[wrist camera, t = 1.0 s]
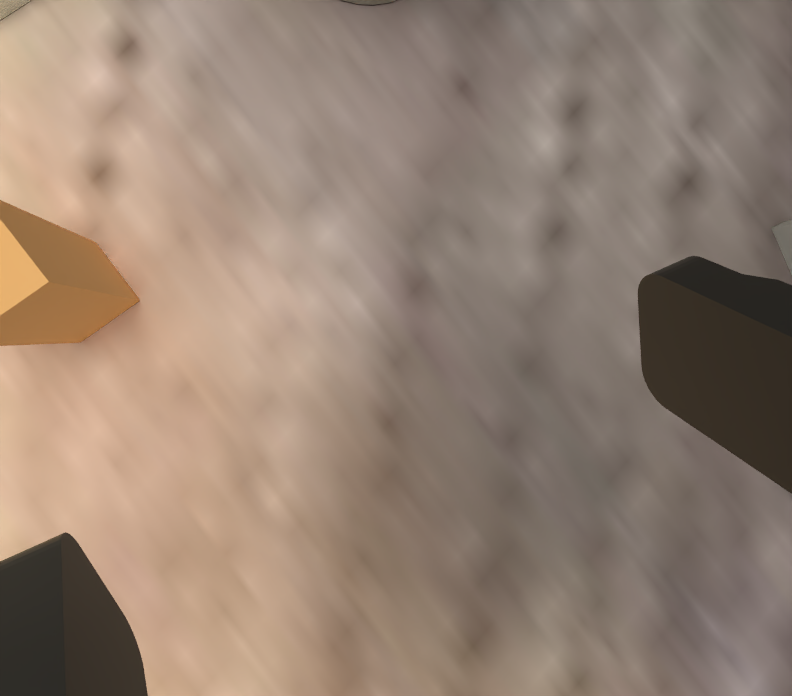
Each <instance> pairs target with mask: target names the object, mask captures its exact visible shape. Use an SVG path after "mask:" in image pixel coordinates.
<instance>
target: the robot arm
mask: <svg viewBox="0 0 792 696" xmlns="http://www.w3.org/2000/svg"><path fill="white" fill-rule="evenodd" d="M638 307H639V326H640V345H641V364H642V372H643V376H644V379H645V382H646V384H647V386H648V388H649V390H650V391H651V393H652V394H653V396H654V397H655V398H656V400H657V401H658V402H659V403H660V404H661V405H662V406H664V407H665V408H666V409H668V410H669V411H671V412H672V413H674V414H675V415H677V416H678V417H680V418H681V419H683V420H684V421H685V422H687V423H688V424H690V425H691V426H693V427H694V428H696V429H697V430H699V431H700V432H702V433H703V434H705V435H706V436H708V437H709V438H711V439H712V440H714V441H715V442H716V443H718V444H719V445H721V446H722V447H724V448H725V449H727V450H728V451H730V452H731V453H733V454H734V455H736V456H737V457H739V458H740V459H742V460H743V461H744V462H746V463H747V464H749V465H750V466H752V467H753V468H755V469H756V470H758V471H759V472H761V473H762V474H764V475H765V476H767V477H768V478H770V479H771V480H773V481H774V482H775V483H777V484H778V485H780V486H781V487H783V488H784V489H786V490H787V491H789V492H790V493H792V285H789V284H787V283H784V282H782V281H779V280H774V279H768V278H762V277H756V276H750V275H744V274H740V273H738V272H736V271H733V270H731V269H728V268H726V267H723V266H721V265H719V264H716V263H714V262H711V261H709V260H706V259H704V258H701V257H698V256H691V257H687V258H685V259H683V260H681V261H678V262H676V263H674V264H672V265H670V266H667V267H665V268H663V269H661V270H658V271H656V272H654V273H652V274H649V275H647V276H645V277H644V278H643V279H642V280H641V282H640V284H639V288H638ZM0 696H148V695H147V688H146V681H145V674H144V668H143V662H142V658H141V654H140V651H139V648H138V645H137V642H136V639H135V637H134V634H133V632H132V629H131V627H130V625H129V623H128V621H127V619H126V617H125V616H124V614H123V613H122V611H121V609H120V608H119V606H118V605H117V603H116V602H115V600H114V598H113V597H112V595H111V594H110V592H109V591H108V589H107V588H106V586H105V584H104V583H103V581H102V580H101V578H100V577H99V575H98V574H97V572H96V570H95V569H94V567H93V566H92V564H91V563H90V561H89V560H88V558H87V556H86V555H85V553H84V552H83V550H82V549H81V547H80V546H79V544H78V543H77V541H76V540H75V539H74V538H73V537H72V536H71V535H70V534H68V533H63V534H61V535H59V536H57V537H54V538H52V539H50V540H48V541H45V542H43V543H41V544H39V545H36V546H34V547H32V548H30V549H27V550H25V551H23V552H21V553H18V554H16V555H14V556H12V557H9V558H7V559H5V560H3V561H0Z"/></svg>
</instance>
